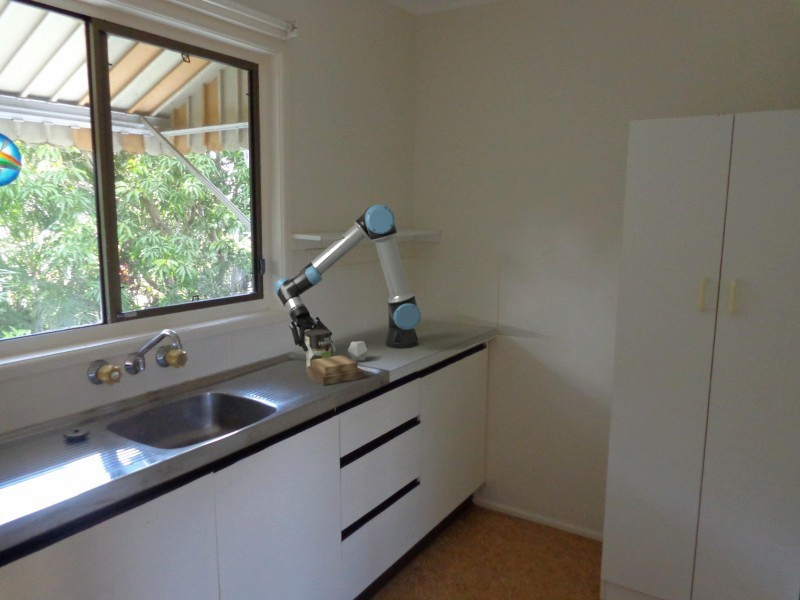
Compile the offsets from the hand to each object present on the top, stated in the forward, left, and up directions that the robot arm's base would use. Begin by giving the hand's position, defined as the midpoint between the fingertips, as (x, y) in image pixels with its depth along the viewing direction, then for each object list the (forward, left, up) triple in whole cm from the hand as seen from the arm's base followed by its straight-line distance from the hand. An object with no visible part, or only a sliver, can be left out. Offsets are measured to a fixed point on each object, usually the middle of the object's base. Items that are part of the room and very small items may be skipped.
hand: (323, 354), depth 231 cm
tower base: (+2, +14, -5) cm, 15 cm away
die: (-16, -2, -6) cm, 17 cm away
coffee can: (+1, -3, -6) cm, 6 cm away
